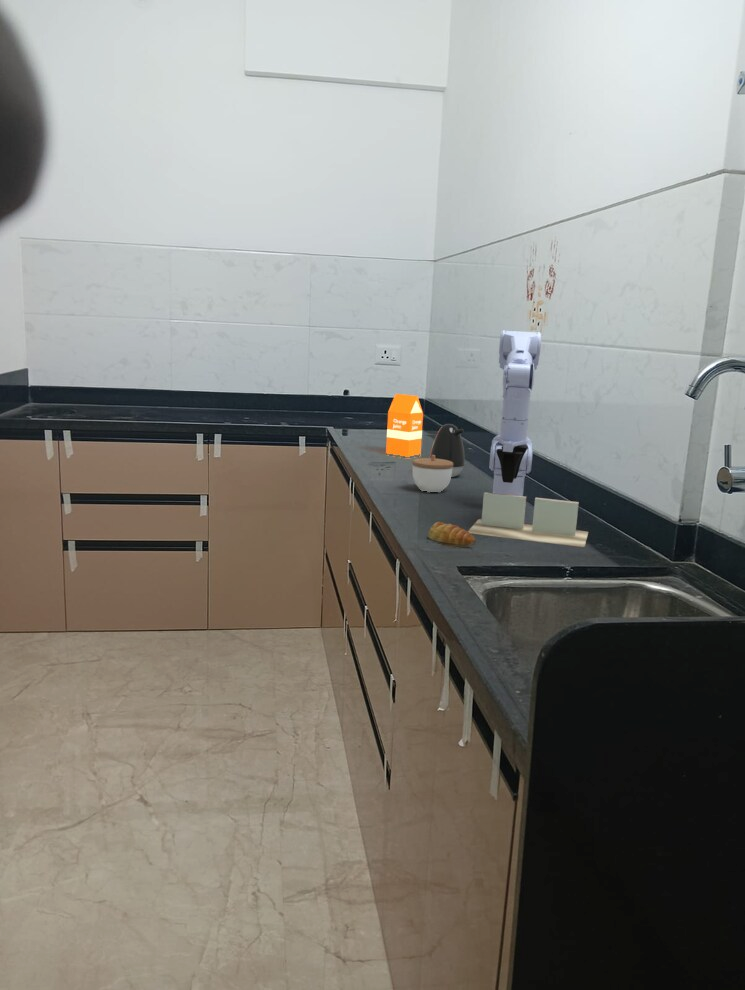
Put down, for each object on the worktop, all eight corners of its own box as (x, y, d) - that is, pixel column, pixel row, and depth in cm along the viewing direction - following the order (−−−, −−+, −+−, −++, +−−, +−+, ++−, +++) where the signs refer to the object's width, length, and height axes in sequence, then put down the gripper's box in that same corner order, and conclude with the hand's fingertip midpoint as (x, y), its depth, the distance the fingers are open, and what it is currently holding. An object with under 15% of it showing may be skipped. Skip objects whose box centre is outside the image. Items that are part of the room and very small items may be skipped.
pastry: (481, 545, 167) (482, 527, 167) (464, 551, 162) (465, 533, 161) (441, 536, 173) (442, 518, 172) (423, 542, 167) (425, 524, 167)
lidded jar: (448, 496, 213) (451, 460, 211) (407, 492, 215) (409, 456, 213) (453, 488, 223) (456, 454, 221) (414, 484, 225) (416, 450, 223)
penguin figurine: (447, 480, 234) (450, 426, 231) (421, 474, 241) (424, 422, 238) (471, 477, 240) (475, 425, 237) (445, 471, 248) (449, 420, 245)
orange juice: (398, 452, 280) (402, 393, 276) (420, 456, 275) (424, 395, 271) (385, 455, 273) (388, 394, 269) (407, 458, 268) (411, 396, 264)
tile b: (532, 529, 180) (535, 497, 178) (575, 534, 177) (578, 502, 176) (532, 530, 178) (535, 498, 177) (574, 535, 176) (578, 503, 174)
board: (478, 521, 187) (478, 518, 187) (588, 534, 180) (588, 531, 180) (466, 535, 174) (466, 532, 174) (584, 550, 167) (584, 547, 167)
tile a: (482, 523, 183) (484, 492, 181) (523, 528, 180) (526, 496, 179) (481, 524, 181) (483, 493, 180) (522, 529, 179) (525, 497, 177)
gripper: (501, 414, 189) (496, 473, 192) (491, 420, 176) (486, 483, 178) (532, 417, 187) (527, 476, 190) (524, 423, 174) (519, 487, 176)
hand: (509, 480), depth 184 cm, fingers open, 5 cm apart
